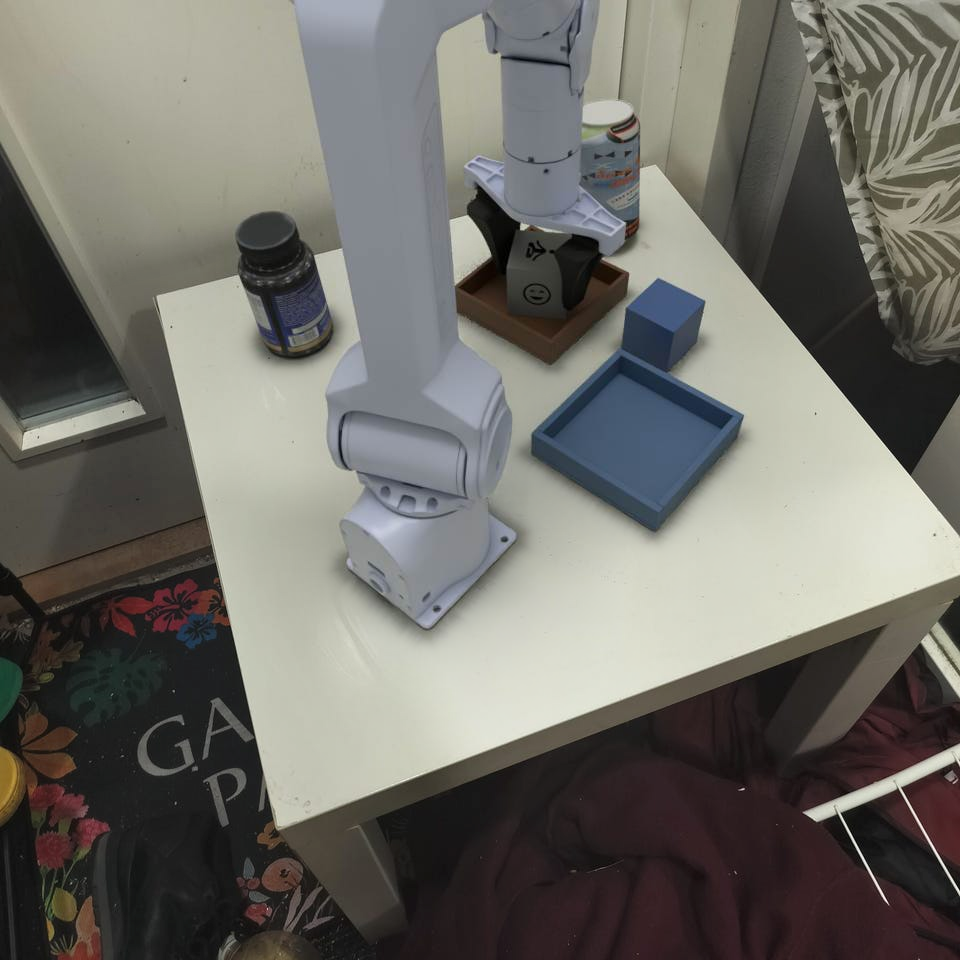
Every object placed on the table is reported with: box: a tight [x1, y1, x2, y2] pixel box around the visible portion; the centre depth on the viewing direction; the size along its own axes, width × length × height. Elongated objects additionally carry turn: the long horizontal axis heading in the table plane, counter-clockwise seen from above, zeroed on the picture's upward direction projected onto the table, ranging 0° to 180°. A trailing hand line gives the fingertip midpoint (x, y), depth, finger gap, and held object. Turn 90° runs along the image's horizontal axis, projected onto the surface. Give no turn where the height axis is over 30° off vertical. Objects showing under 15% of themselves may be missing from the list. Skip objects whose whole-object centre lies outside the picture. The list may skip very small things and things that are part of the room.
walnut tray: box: [455, 225, 630, 366], centre depth 73 cm, size 11×11×2 cm
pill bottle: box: [234, 210, 334, 357], centre depth 68 cm, size 6×6×11 cm
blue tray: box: [530, 347, 745, 533], centre depth 63 cm, size 11×11×2 cm
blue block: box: [620, 277, 707, 373], centre depth 68 cm, size 4×4×4 cm
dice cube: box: [506, 229, 572, 320], centre depth 71 cm, size 5×5×5 cm
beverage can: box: [579, 98, 641, 242], centre depth 74 cm, size 6×7×12 cm
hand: (540, 285), depth 72 cm, fingers closed on dice cube, 7 cm apart
